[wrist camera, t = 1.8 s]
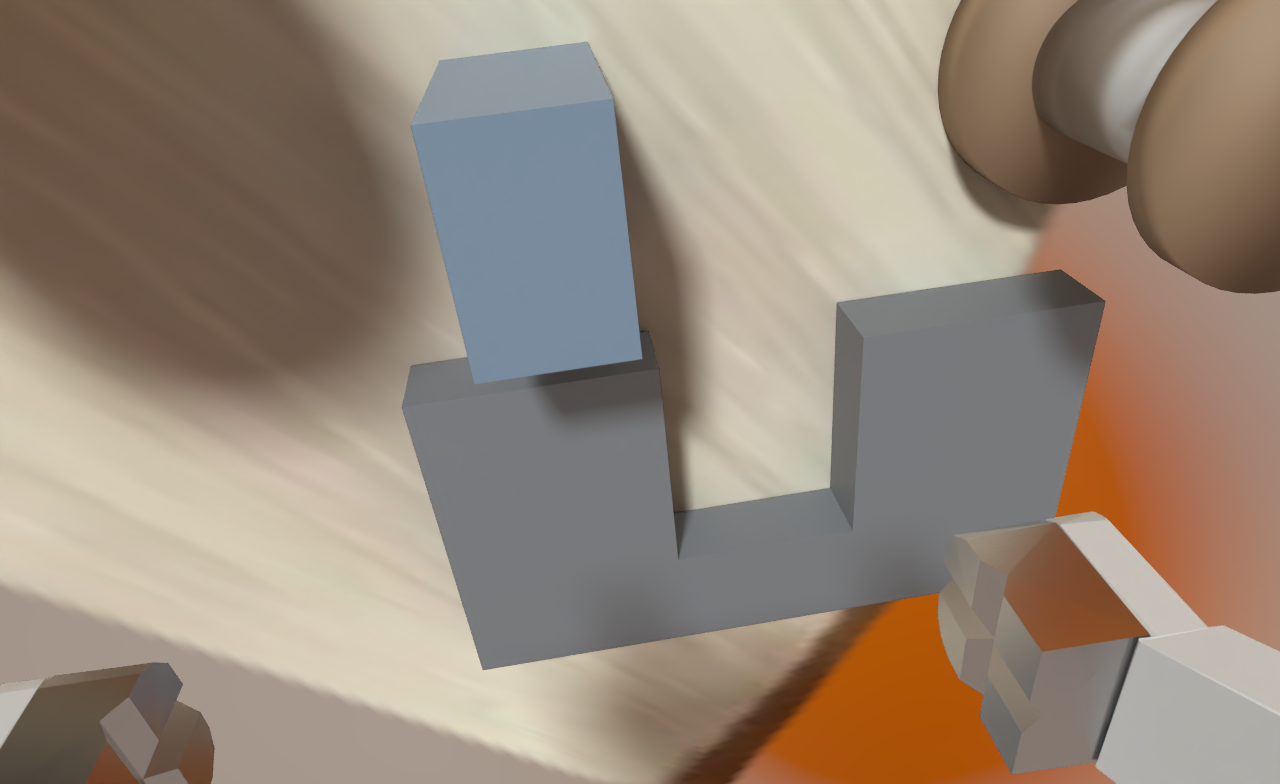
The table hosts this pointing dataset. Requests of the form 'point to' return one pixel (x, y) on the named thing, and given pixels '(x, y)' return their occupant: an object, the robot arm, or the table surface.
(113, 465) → the table surface
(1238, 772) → the robot arm
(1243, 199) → the bobbin post
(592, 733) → the table surface
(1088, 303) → the notched board
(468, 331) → the blue-gray rectangular block
